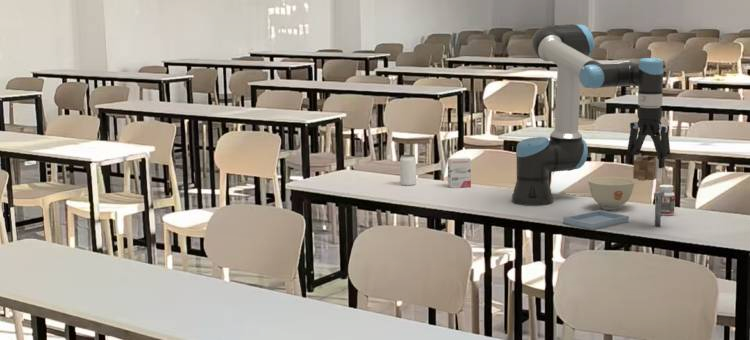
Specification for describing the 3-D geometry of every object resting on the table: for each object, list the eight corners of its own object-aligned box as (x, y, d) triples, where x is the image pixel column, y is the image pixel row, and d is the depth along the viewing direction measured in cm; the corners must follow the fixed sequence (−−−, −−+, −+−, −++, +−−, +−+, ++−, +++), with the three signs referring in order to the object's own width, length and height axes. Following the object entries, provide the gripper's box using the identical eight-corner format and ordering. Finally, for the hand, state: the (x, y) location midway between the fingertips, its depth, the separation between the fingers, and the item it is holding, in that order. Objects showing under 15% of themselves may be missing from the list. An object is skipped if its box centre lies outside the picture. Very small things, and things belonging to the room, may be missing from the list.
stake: (652, 226, 331) (653, 193, 329) (660, 224, 333) (660, 191, 332) (656, 227, 330) (657, 193, 328) (664, 225, 332) (665, 192, 330)
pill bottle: (674, 216, 346) (675, 187, 344) (657, 215, 347) (658, 187, 345) (673, 212, 351) (674, 184, 350) (656, 212, 352) (657, 184, 351)
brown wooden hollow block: (643, 173, 336) (644, 155, 335) (662, 174, 333) (663, 156, 332) (631, 179, 326) (631, 161, 325) (650, 181, 323) (651, 162, 322)
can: (416, 185, 412) (415, 156, 410) (400, 186, 412) (399, 156, 410) (415, 182, 418) (415, 154, 416) (400, 183, 418) (399, 154, 416)
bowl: (634, 204, 366) (634, 177, 365) (634, 213, 351) (634, 185, 349) (588, 203, 370) (589, 176, 369) (587, 212, 355) (587, 184, 353)
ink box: (468, 185, 411) (467, 156, 409) (471, 187, 406) (470, 158, 404) (447, 186, 410) (447, 157, 408) (450, 188, 405) (450, 159, 403)
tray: (563, 223, 339) (563, 217, 338) (599, 215, 349) (599, 210, 349) (592, 230, 328) (592, 224, 328) (628, 221, 339) (628, 216, 338)
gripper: (616, 104, 332) (615, 173, 336) (669, 110, 316) (667, 182, 320) (631, 102, 336) (629, 170, 341) (684, 108, 320) (681, 178, 324)
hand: (647, 175), depth 330 cm, fingers closed on brown wooden hollow block, 8 cm apart
